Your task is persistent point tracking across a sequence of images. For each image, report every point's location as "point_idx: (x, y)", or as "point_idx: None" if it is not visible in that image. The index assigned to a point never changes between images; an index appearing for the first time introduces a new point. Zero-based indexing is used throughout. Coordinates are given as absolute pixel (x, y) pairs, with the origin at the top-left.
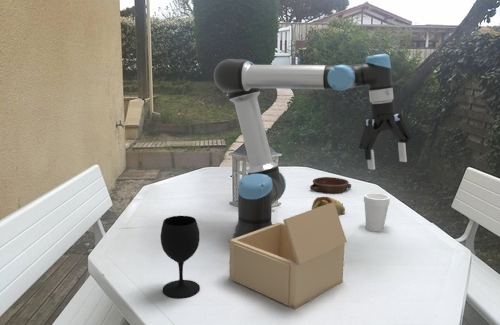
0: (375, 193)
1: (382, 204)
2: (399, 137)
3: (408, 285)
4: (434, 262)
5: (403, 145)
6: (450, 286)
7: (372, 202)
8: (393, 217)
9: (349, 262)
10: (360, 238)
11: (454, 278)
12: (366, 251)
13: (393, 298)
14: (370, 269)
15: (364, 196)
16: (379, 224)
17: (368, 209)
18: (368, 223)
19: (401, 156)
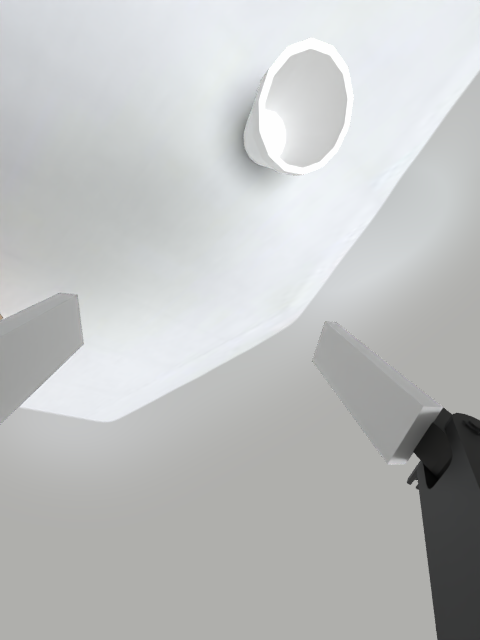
0: (341, 71)
1: (276, 170)
2: (441, 515)
3: (115, 362)
4: (214, 329)
5: (373, 441)
6: (169, 380)
7: (257, 137)
8: (382, 101)
9: (63, 264)
10: (179, 169)
11: (193, 369)
12: (137, 240)
13: (66, 378)
14: (89, 304)
15: (268, 70)
16: (260, 164)
17: (251, 121)
18: (245, 131)
19: (334, 355)
